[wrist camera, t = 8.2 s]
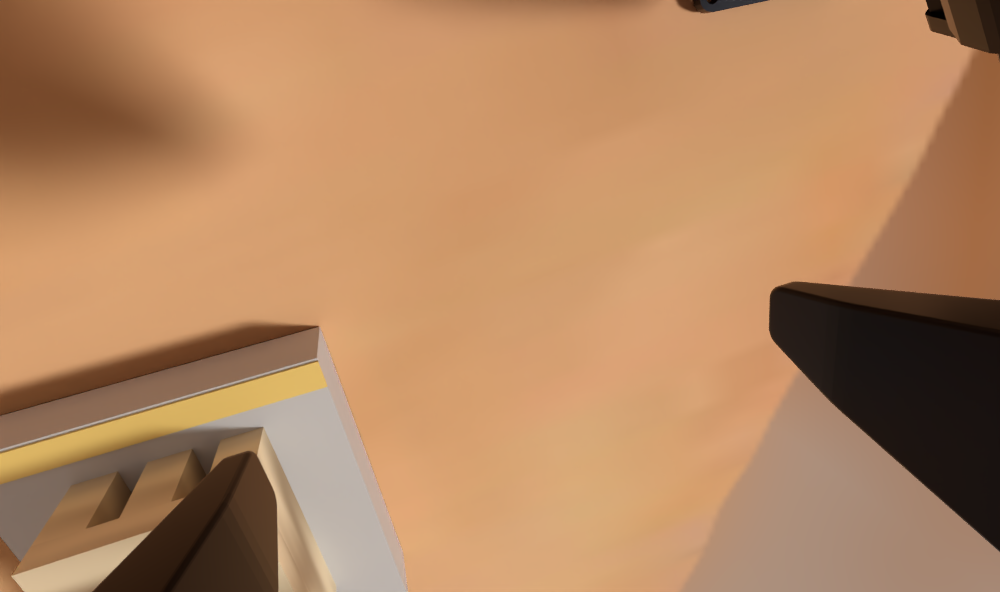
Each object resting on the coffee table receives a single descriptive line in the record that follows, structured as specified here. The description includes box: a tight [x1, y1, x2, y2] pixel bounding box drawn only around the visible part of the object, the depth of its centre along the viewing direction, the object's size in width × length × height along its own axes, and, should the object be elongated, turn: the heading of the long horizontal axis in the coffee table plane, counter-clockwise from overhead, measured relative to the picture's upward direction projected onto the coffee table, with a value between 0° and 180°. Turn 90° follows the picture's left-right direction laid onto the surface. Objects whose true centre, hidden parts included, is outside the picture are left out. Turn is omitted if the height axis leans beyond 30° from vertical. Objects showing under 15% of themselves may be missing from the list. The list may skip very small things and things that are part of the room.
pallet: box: [12, 427, 336, 592], centre depth 18 cm, size 8×6×4 cm
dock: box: [0, 327, 408, 592], centre depth 21 cm, size 11×12×3 cm
